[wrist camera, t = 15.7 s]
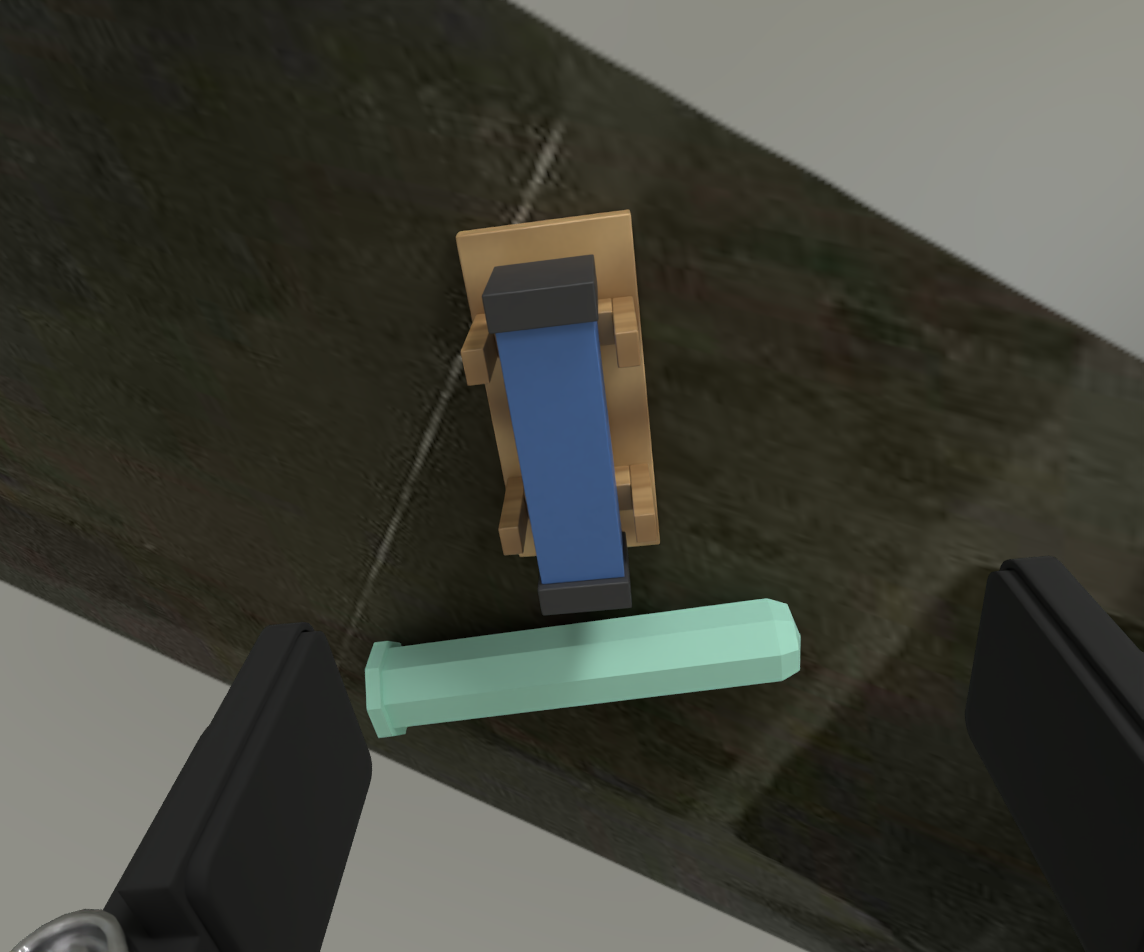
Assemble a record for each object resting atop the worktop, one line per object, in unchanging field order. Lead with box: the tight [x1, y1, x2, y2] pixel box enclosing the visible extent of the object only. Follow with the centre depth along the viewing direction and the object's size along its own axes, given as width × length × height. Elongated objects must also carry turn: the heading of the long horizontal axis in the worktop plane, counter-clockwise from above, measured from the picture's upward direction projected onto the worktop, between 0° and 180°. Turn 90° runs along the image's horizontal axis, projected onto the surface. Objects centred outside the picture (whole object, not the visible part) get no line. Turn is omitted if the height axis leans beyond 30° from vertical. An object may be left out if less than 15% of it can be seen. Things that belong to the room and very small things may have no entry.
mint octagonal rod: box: [365, 598, 801, 738], centre depth 45 cm, size 6×6×25 cm
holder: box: [456, 210, 660, 557], centre depth 37 cm, size 18×8×6 cm, turn 7°
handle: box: [482, 254, 632, 615], centre depth 35 cm, size 16×4×4 cm, turn 7°
